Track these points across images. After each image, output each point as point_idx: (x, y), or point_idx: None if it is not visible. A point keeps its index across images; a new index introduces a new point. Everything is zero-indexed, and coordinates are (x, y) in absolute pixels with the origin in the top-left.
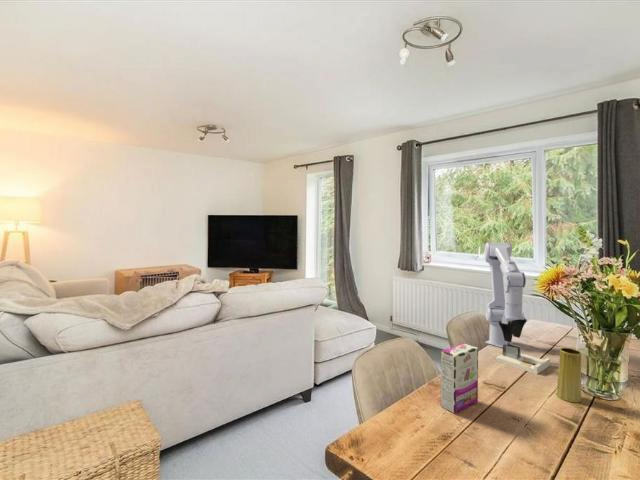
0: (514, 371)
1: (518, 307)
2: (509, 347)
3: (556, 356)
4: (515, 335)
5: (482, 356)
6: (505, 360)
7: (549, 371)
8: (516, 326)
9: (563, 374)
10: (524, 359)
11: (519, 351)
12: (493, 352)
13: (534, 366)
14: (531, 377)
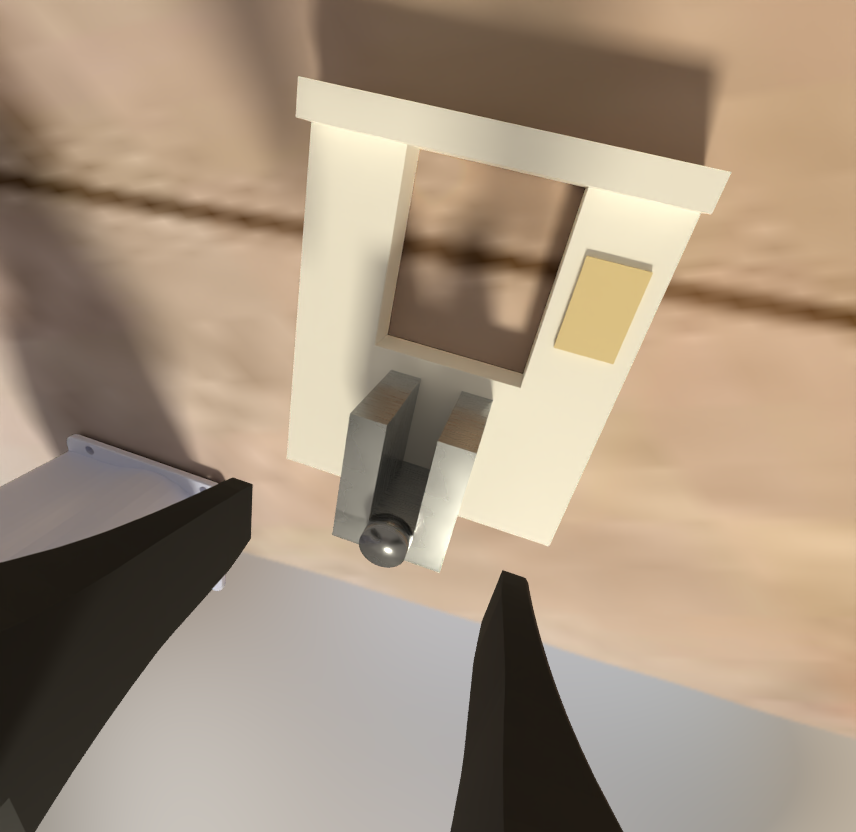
0: (731, 382)
1: None
2: (457, 514)
3: (45, 78)
4: (239, 532)
5: None
6: (579, 478)
7: (524, 63)
8: (126, 634)
9: None
10: (383, 333)
11: (401, 405)
12: None
13: (712, 209)
14: (843, 216)
